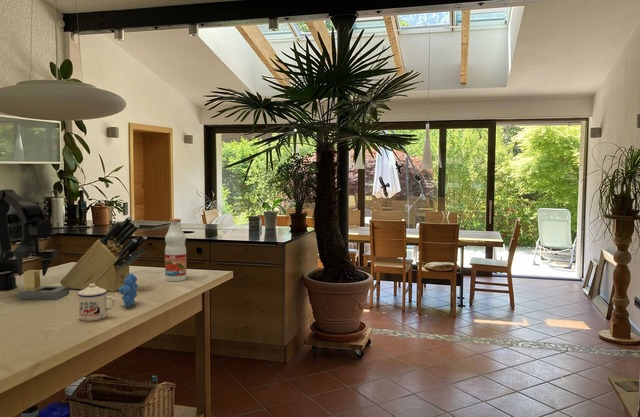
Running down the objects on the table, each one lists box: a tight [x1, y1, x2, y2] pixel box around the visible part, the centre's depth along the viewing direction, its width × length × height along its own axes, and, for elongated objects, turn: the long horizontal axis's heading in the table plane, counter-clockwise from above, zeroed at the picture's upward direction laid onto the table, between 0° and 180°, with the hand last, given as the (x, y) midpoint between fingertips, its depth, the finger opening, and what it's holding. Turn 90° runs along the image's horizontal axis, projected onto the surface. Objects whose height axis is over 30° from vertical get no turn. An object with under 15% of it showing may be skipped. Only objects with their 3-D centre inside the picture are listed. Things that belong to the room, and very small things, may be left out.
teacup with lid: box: [77, 284, 116, 322], centre depth 174 cm, size 12×9×12 cm
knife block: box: [59, 215, 148, 293], centre depth 215 cm, size 11×35×31 cm, turn 78°
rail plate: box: [17, 285, 71, 301], centre depth 202 cm, size 15×10×3 cm, turn 91°
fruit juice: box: [164, 218, 187, 282], centre depth 233 cm, size 9×9×28 cm
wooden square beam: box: [23, 269, 41, 290], centre depth 201 cm, size 4×4×7 cm
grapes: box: [117, 272, 139, 308], centre depth 189 cm, size 12×7×12 cm, turn 3°
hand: (32, 275), depth 201 cm, fingers open, 9 cm apart
